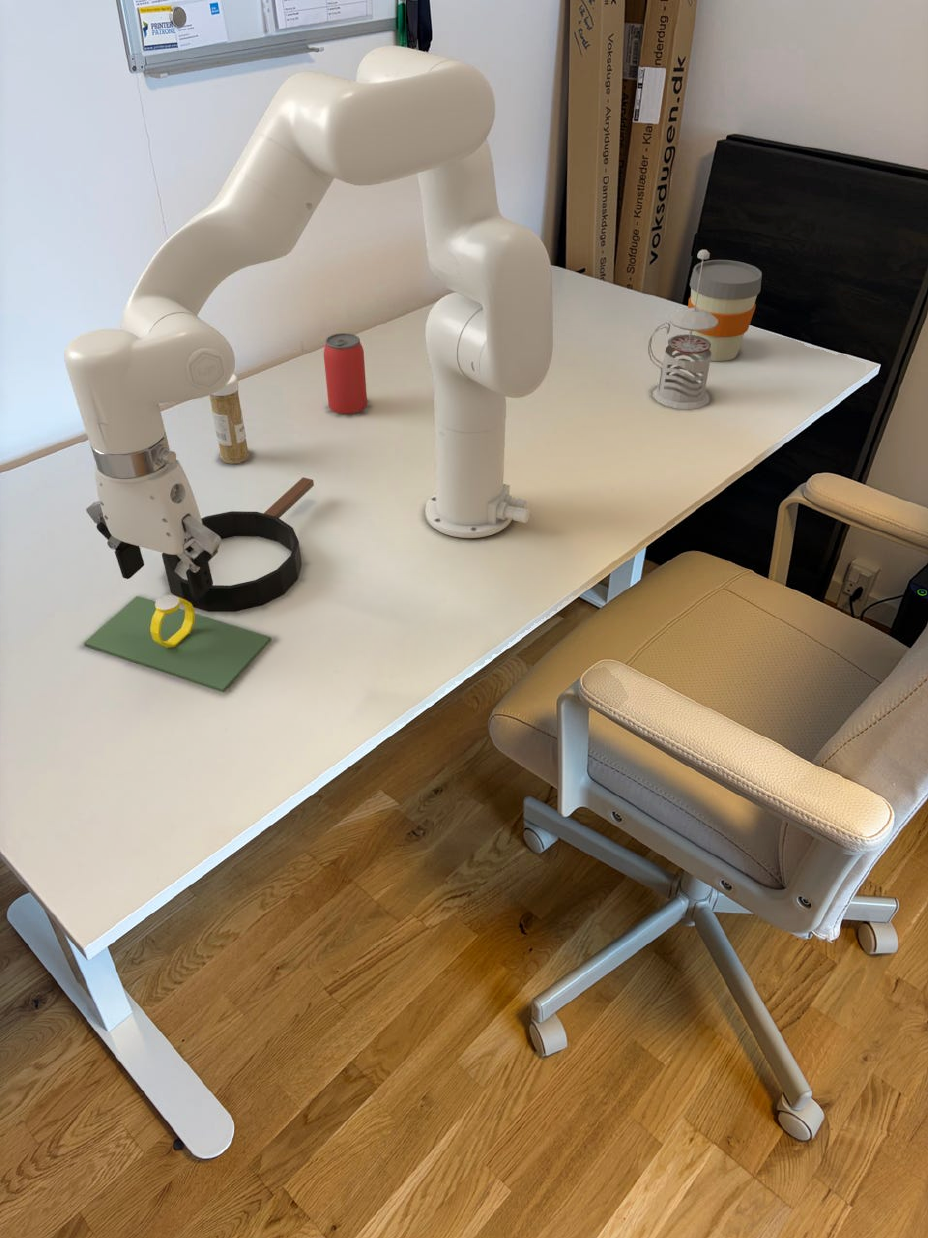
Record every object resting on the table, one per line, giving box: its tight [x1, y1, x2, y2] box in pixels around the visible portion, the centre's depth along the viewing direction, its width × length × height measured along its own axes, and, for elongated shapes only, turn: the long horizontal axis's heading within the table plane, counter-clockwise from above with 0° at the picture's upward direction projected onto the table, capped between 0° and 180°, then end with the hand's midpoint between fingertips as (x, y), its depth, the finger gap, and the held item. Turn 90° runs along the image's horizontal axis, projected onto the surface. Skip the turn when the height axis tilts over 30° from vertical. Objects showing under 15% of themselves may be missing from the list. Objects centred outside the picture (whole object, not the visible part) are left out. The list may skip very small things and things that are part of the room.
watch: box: [150, 594, 196, 648], centre depth 113 cm, size 6×3×6 cm, turn 150°
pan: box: [161, 477, 315, 613], centre depth 129 cm, size 28×17×4 cm, turn 156°
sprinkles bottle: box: [209, 373, 250, 465], centre depth 145 cm, size 5×5×14 cm
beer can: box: [323, 332, 368, 416], centre depth 159 cm, size 7×7×12 cm
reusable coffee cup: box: [687, 259, 763, 362], centre depth 176 cm, size 13×13×15 cm
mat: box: [83, 595, 272, 693], centre depth 115 cm, size 20×10×1 cm, turn 66°
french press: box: [647, 249, 718, 410], centre depth 158 cm, size 10×12×25 cm
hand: (168, 581), depth 110 cm, fingers open, 9 cm apart
